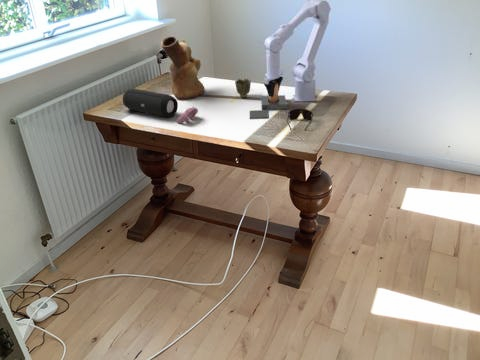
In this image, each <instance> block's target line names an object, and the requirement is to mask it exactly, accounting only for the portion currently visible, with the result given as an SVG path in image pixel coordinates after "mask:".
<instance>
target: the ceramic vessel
mask: <svg viewBox="0 0 480 360" xmlns="http://www.w3.org/2000/svg"><path fill="white" fill-rule="evenodd" d="M160 44H161V47H162V49H163V51H164V52H165V54H166V55H167V56H168V58H169V60H171V63H170V65H169V71H170V74H171V79H172V80H171V81H172V85H171V90H172V94H173V95H174V96H175V97H176V98H177V99H182V100H184V99H185V100H186V99H192V98H196V97H198V96H200V95H202V94H203V93H205V91H206V89H205V86H204V84H203V83H202V82H201V80H200V79H198V74H199V73H198V72H200V69H201V61H200V59H199V58H195V57H193V56H192V49H191V47H190V46H189V45H188V44H187V43H186V40H185V39H181V42H179V40H178V38H177V37H176V36H168V37H165V38H163V39H162V40H161V42H160Z"/></svg>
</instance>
